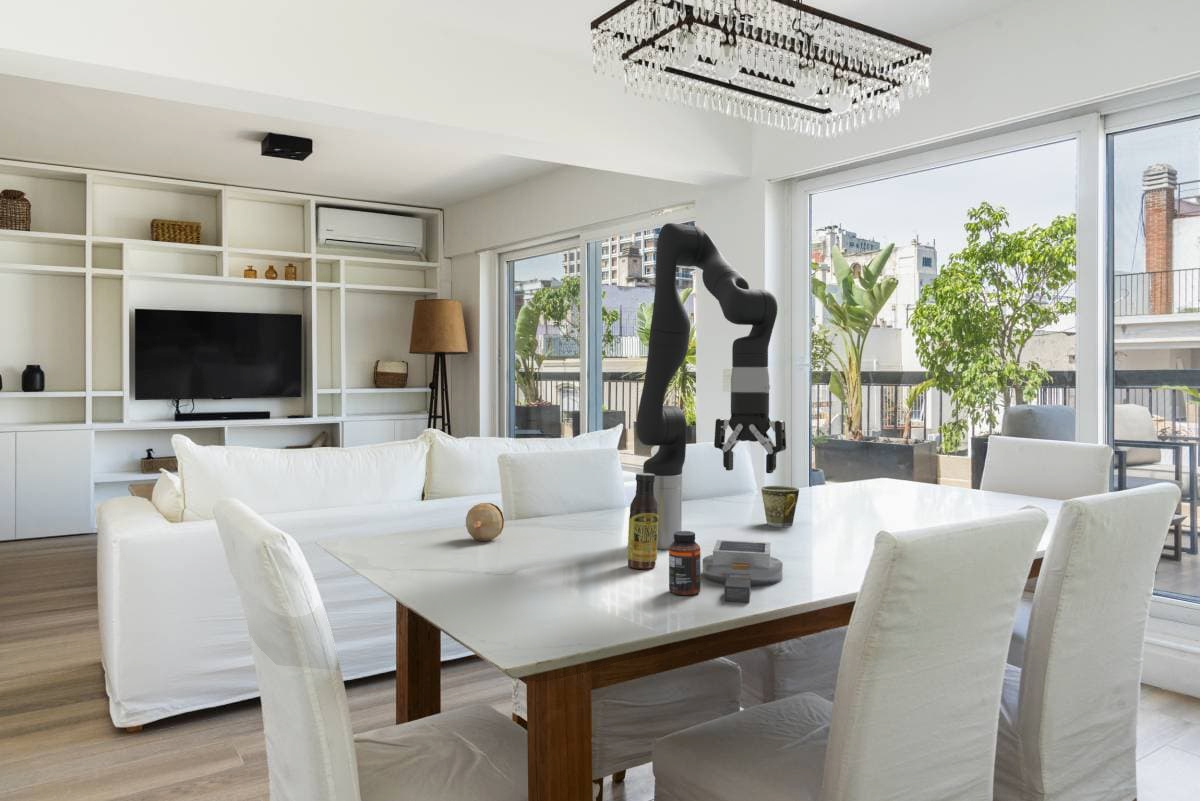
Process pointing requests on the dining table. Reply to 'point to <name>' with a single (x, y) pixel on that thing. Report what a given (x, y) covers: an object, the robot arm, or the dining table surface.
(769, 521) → the ceramic cup
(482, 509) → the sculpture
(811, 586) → the dining table surface
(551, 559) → the dining table surface
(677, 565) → the supplement bottle
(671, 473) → the robot arm
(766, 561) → the grey platform stand
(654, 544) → the sauce bottle
